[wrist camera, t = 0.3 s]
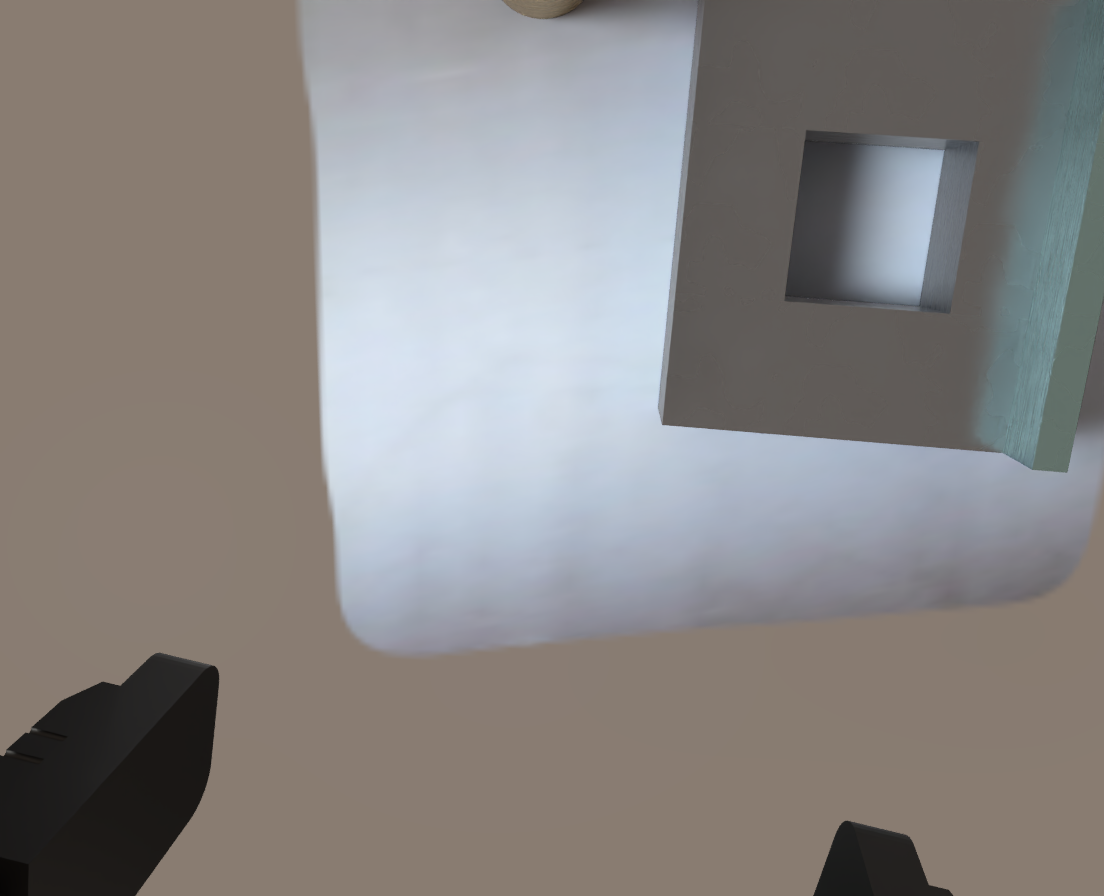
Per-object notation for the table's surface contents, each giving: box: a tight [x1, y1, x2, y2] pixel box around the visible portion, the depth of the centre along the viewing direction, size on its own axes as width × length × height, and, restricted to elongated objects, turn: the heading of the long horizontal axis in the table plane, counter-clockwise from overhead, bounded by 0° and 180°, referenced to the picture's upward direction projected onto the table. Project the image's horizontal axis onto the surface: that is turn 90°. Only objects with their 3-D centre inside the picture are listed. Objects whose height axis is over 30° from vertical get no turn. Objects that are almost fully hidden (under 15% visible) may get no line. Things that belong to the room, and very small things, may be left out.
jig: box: [658, 0, 1104, 473], centre depth 34 cm, size 16×14×6 cm
